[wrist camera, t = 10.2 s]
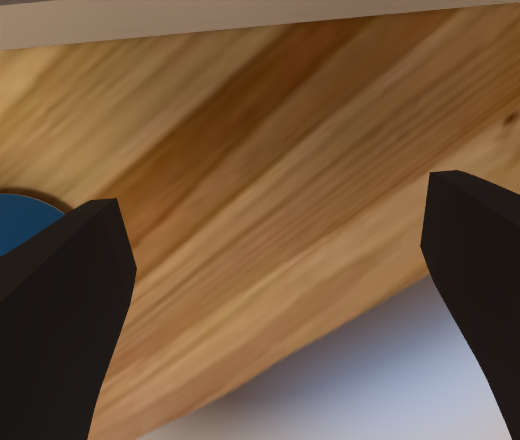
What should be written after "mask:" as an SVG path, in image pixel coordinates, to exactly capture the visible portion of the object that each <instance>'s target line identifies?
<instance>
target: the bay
mask: <svg viewBox="0 0 520 440" xmlns="http://www.w3.org/2000/svg"><path fill="white" fill-rule="evenodd" d="M515 2H520V0H0V50H9V49H19V48H30V47H41V46H52V45H62V44H73V43H84V42H95V41H105V40H116V39H127V38H138V37H148V36H159V35H170V34H181V33H192V32H202V31H213V30H224V29H235V28H245V27H256V26H267V25H278V24H288V23H299V22H310V21H321V20H331V19H342V18H353V17H364V16H375V15H385V14H396V13H407V12H418V11H428V10H439V9H450V8H461V7H471V6H482V5H493V4H504V3H515Z"/></svg>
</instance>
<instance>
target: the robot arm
mask: <svg viewBox="0 0 520 440" xmlns="http://www.w3.org/2000/svg"><path fill="white" fill-rule="evenodd" d="M420 247H421V250H422V253H423V255H424V258H425V261H426V264H427V267H428V269H429V272H430V274H431V277H432V279H433V282H434V284H435V286H436V287H437V289H438V291H439V293H440V295H441V297H442V298H443V300H444V302H445V304H446V306H447V308H448V309H449V311H450V313H451V315H452V316H453V318H454V320H455V322H456V323H457V325H458V327H459V329H460V331H461V332H462V334H463V336H464V338H465V339H466V341H467V343H468V345H469V346H470V348H471V350H472V352H473V354H474V355H475V357H476V359H477V361H478V363H479V365H480V367H481V369H482V371H483V373H484V375H485V376H486V379H487V380H488V383H489V385H490V388H491V390H492V392H493V394H494V397H495V399H496V401H497V404H498V406H499V409H500V411H501V413H502V416H503V418H504V420H505V423H506V425H507V428H508V430H509V433H510V435H511V438H512V440H520V195H519V194H516V193H514V192H512V191H510V190H507V189H505V188H503V187H500V186H498V185H496V184H493V183H491V182H489V181H486V180H484V179H481V178H479V177H477V176H474V175H471V174H468V173H466V172H462V171H459V170H453V171H441V172H430V176H429V184H428V191H427V199H426V207H425V214H424V222H423V230H422V237H421V245H420ZM136 271H137V267H136V264H135V260H134V257H133V253H132V250H131V246H130V243H129V240H128V236H127V233H126V229H125V226H124V222H123V219H122V215H121V212H120V208H119V205H118V201H117V198H113V199H101V200H90V201H88V202H86V203H84V204H82V205H80V206H79V207H77V208H75V209H74V210H72V211H71V212H69V213H67V214H66V215H64V216H63V217H61V218H60V219H58V220H57V221H55V222H54V223H52V224H51V225H49V226H48V227H46V228H45V229H43V230H42V231H40V232H39V233H37V234H36V235H34V236H33V237H31V238H30V239H28V240H27V241H25V242H23V243H22V244H20V245H19V246H17V247H15V248H14V249H12V250H11V251H9V252H7V253H6V254H4V255H2V256H1V257H0V440H87V438H88V434H89V430H90V425H91V421H92V417H93V413H94V409H95V405H96V402H97V398H98V395H99V392H100V389H101V386H102V383H103V380H104V377H105V374H106V372H107V369H108V366H109V363H110V360H111V358H112V355H113V352H114V349H115V346H116V344H117V341H118V338H119V335H120V332H121V330H122V327H123V324H124V321H125V318H126V315H127V312H128V309H129V306H130V302H131V297H132V293H133V288H134V282H135V276H136Z"/></svg>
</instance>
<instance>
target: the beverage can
mask: <svg viewBox="0 0 520 440" xmlns="http://www.w3.org/2000/svg"><path fill="white" fill-rule="evenodd" d="M64 215H66V214H65V213H63V212H62V211H60V210H59V209H57V208H55V207H54V206H52V205H50V204H48V203H46V202H43V201H41V200H38V199H36V198H32V197H28V196H24V195H18V194H0V257H1V256H2V255H4V254H6V253H7V252H9V251H11V250H12V249H14V248H15V247H17V246H19V245H20V244H22V243H23V242H25V241H27V240H28V239H30V238H31V237H33V236H34V235H36V234H37V233H39V232H40V231H42V230H43V229H45V228H46V227H48V226H49V225H51V224H52V223H54V222H55V221H57V220H58V219H60V218H61V217H63V216H64Z"/></svg>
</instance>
